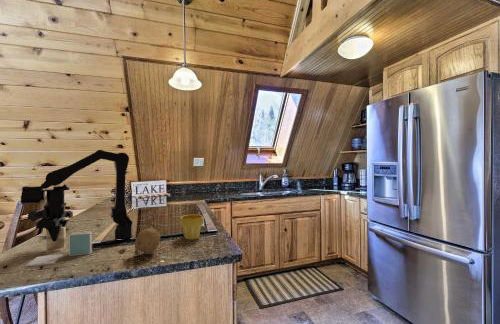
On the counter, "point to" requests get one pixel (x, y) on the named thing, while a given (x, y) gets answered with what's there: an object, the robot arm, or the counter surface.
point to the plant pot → (191, 226)
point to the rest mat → (44, 260)
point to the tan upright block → (59, 243)
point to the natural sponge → (147, 241)
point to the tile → (80, 243)
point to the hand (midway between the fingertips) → (56, 239)
